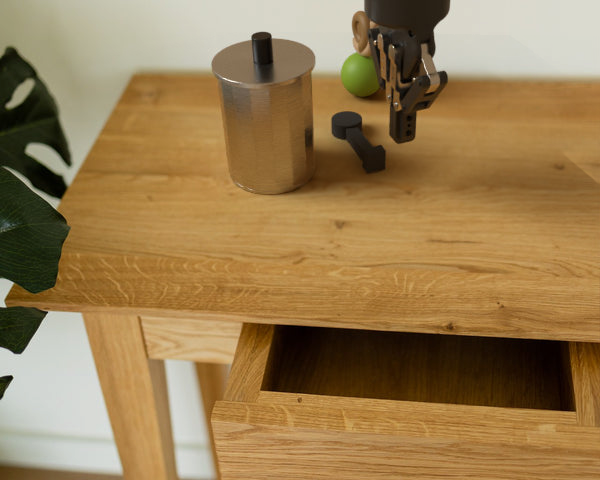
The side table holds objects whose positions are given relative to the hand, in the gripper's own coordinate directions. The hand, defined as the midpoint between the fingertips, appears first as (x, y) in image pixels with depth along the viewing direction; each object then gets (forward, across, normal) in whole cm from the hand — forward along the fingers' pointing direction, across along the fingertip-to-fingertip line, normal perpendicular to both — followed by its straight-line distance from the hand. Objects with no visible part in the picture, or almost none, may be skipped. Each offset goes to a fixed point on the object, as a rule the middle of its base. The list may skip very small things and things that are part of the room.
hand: (402, 138), depth 76 cm
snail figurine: (+6, +21, -5) cm, 23 cm away
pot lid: (-6, +9, +11) cm, 16 cm away
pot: (+6, +9, +11) cm, 16 cm away
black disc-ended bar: (+6, +10, +1) cm, 12 cm away
